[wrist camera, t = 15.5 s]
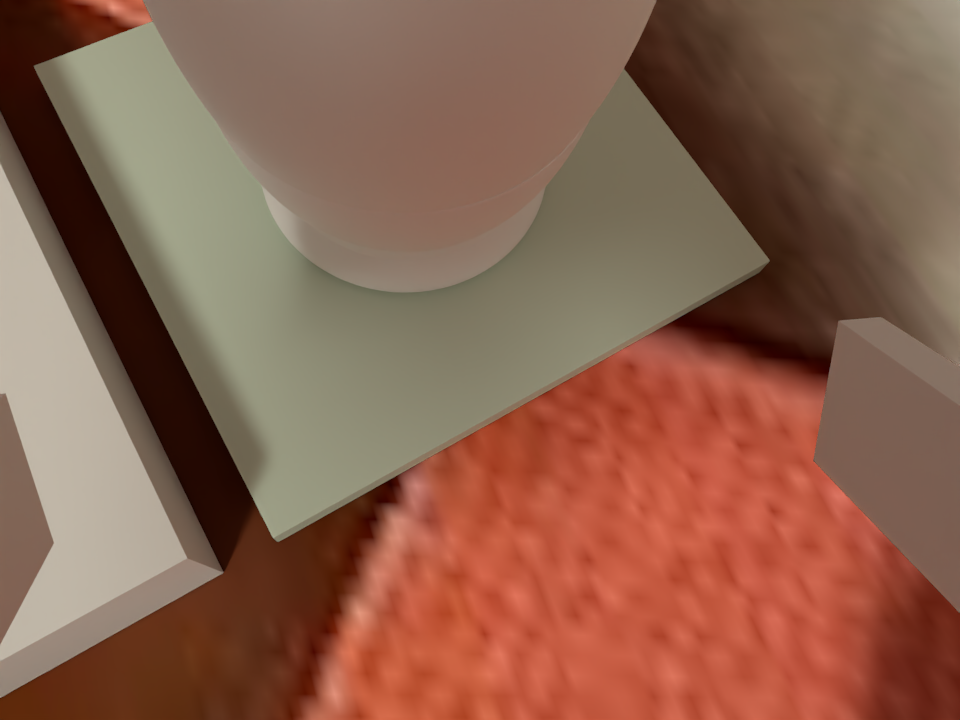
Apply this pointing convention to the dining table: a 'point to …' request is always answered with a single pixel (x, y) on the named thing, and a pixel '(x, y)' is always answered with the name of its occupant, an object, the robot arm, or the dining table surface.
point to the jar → (402, 118)
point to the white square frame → (81, 452)
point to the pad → (373, 313)
